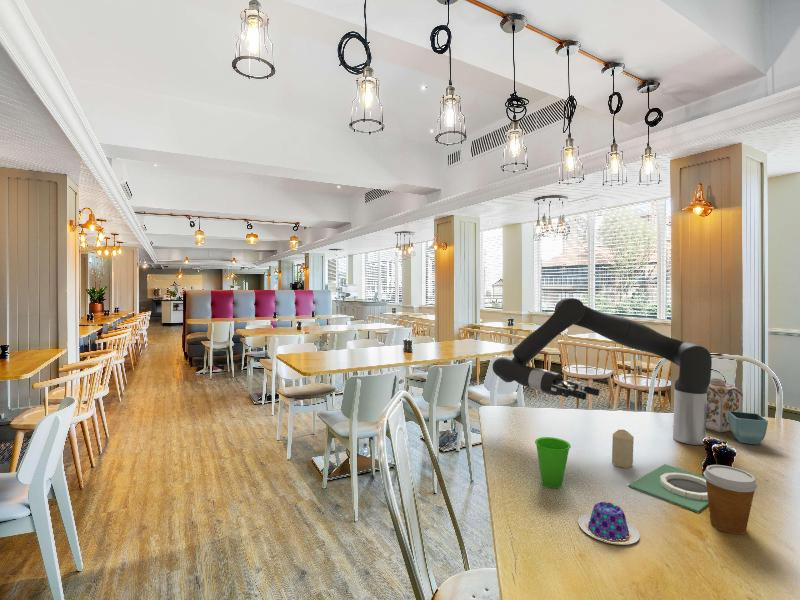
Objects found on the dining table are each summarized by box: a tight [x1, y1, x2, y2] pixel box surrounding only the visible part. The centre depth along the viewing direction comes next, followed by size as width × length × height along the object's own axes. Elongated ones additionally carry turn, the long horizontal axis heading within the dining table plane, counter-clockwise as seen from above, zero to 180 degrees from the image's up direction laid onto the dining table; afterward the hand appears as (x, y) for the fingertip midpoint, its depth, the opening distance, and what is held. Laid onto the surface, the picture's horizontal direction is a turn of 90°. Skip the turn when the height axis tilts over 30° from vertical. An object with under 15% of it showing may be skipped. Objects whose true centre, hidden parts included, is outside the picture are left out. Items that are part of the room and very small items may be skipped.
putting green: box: [628, 463, 709, 514], centre depth 114 cm, size 22×16×2 cm
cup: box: [534, 436, 572, 489], centre depth 115 cm, size 9×9×11 cm
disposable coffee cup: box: [703, 464, 759, 535], centre depth 95 cm, size 10×10×12 cm
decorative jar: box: [706, 377, 744, 433], centre depth 162 cm, size 12×12×18 cm
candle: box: [611, 429, 634, 469], centre depth 128 cm, size 6×6×10 cm
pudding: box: [578, 501, 641, 546], centre depth 94 cm, size 12×12×5 cm
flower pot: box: [728, 411, 769, 446], centre depth 147 cm, size 9×9×9 cm
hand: (592, 394), depth 134 cm, fingers open, 8 cm apart
